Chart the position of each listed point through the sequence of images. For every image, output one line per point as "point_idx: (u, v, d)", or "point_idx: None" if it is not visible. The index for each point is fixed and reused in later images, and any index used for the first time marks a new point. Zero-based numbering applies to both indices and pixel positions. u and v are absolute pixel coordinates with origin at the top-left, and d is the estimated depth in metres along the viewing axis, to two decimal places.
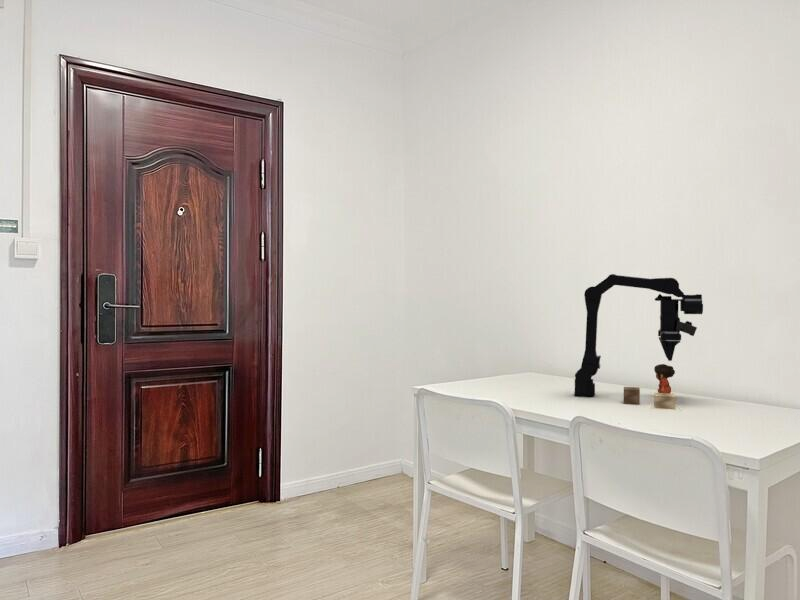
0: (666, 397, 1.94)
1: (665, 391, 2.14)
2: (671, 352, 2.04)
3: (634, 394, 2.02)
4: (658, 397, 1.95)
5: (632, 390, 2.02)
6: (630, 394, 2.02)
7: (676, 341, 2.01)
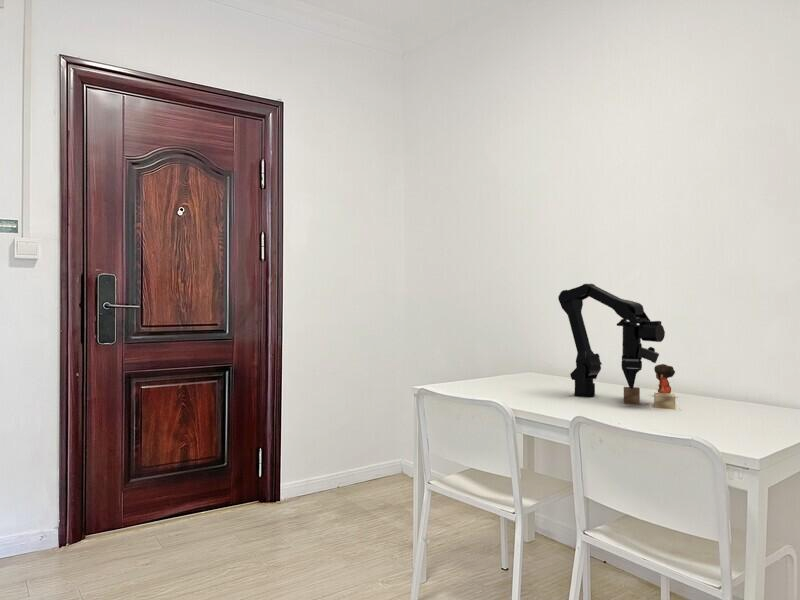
0: (666, 397, 1.94)
1: (665, 391, 2.14)
2: (632, 380, 1.99)
3: (634, 394, 2.02)
4: (658, 397, 1.95)
5: (632, 390, 2.02)
6: (630, 394, 2.02)
7: (637, 369, 1.96)
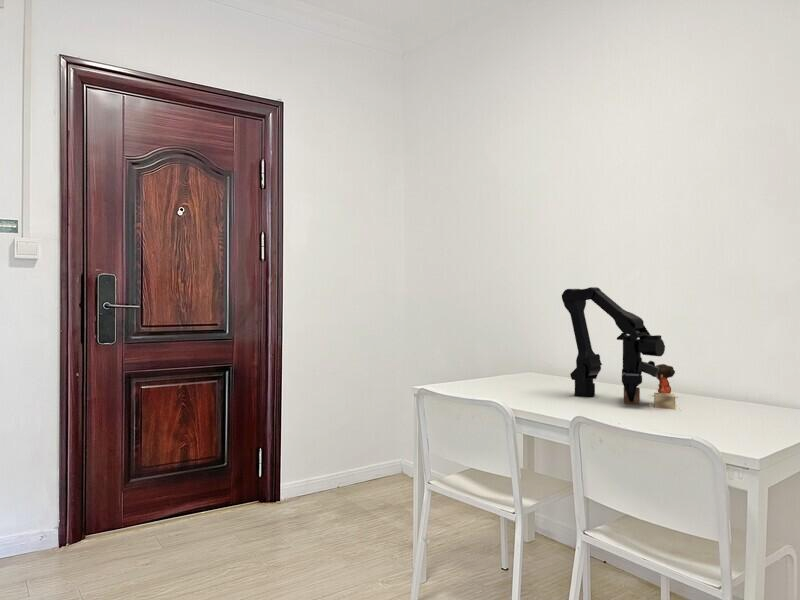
0: (666, 397, 1.94)
1: (665, 391, 2.14)
2: (632, 393, 2.01)
3: None
4: (658, 397, 1.95)
5: None
6: None
7: (637, 382, 1.98)
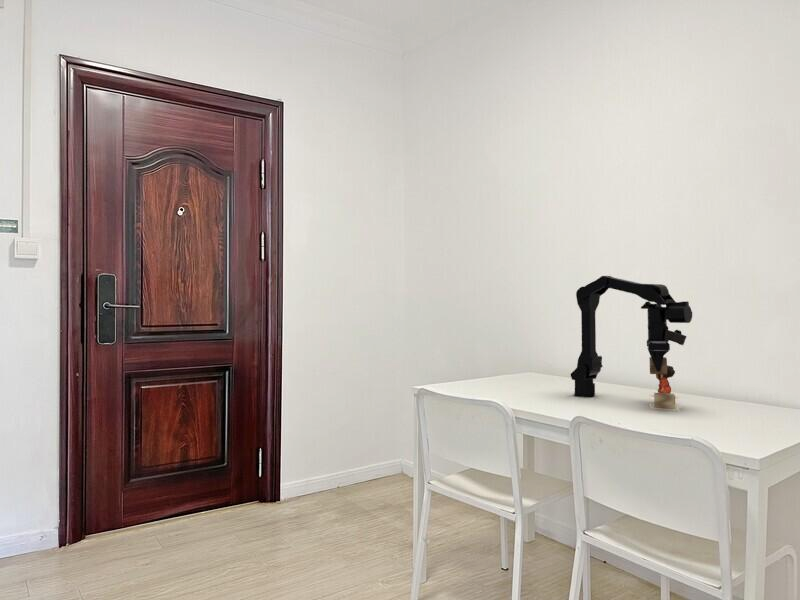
0: (666, 397, 1.94)
1: (665, 391, 2.14)
2: (659, 362, 1.95)
3: None
4: (658, 397, 1.95)
5: None
6: None
7: (664, 350, 1.92)
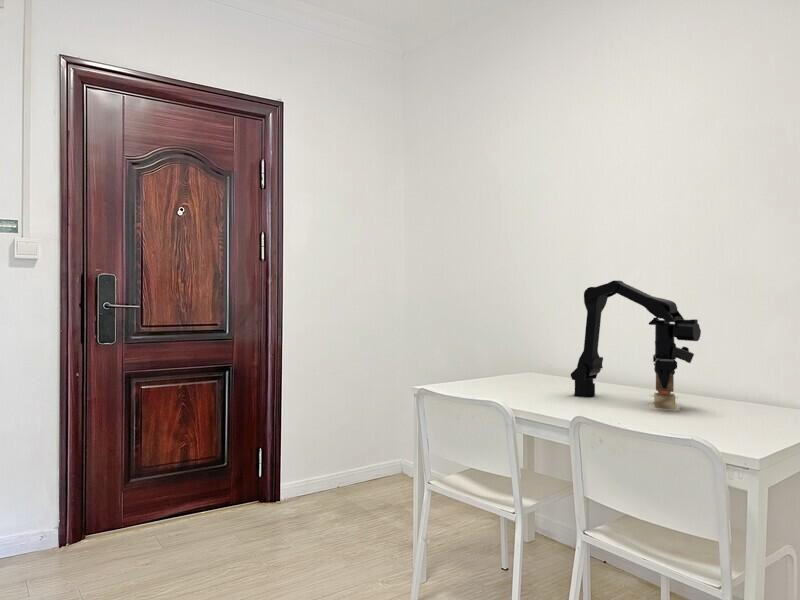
0: (666, 397, 1.94)
1: (665, 391, 2.14)
2: (666, 379, 1.94)
3: None
4: (658, 397, 1.95)
5: None
6: None
7: (671, 368, 1.91)
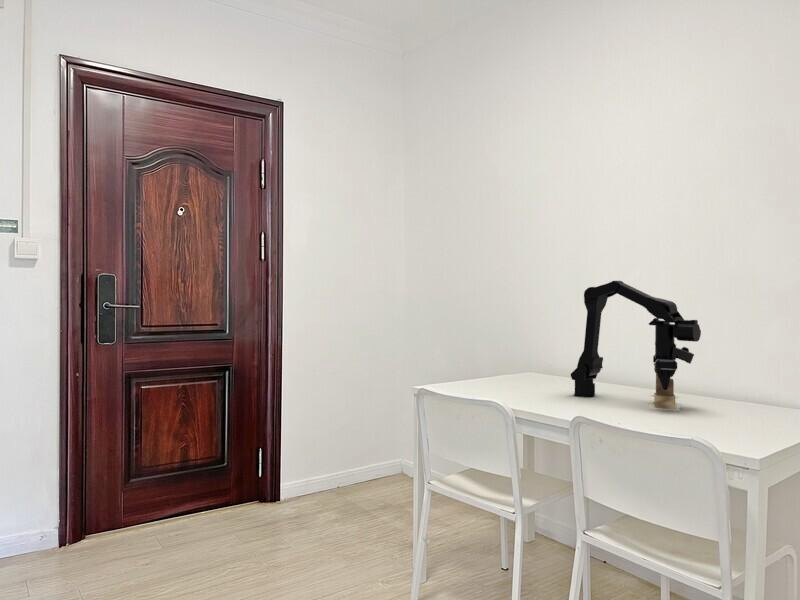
0: (666, 397, 1.94)
1: None
2: (667, 381, 1.92)
3: None
4: (658, 397, 1.95)
5: None
6: None
7: (672, 370, 1.89)
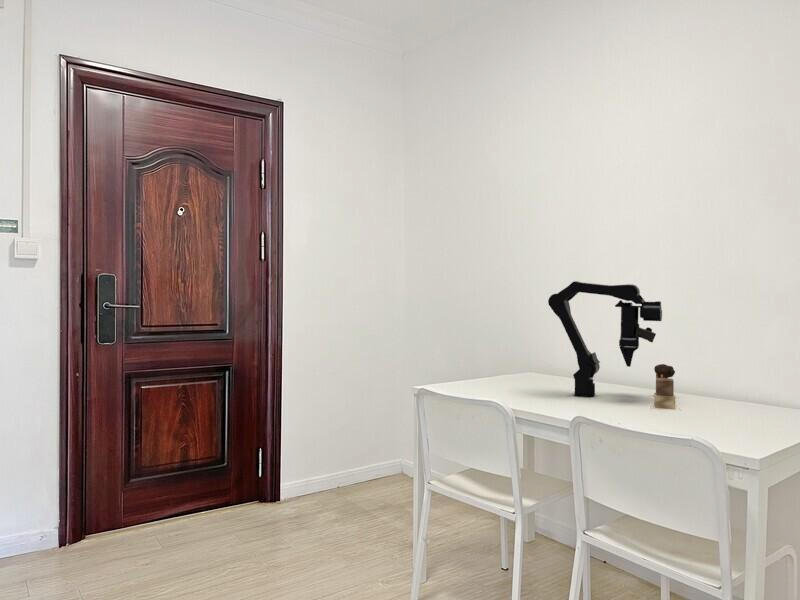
0: (666, 397, 1.94)
1: None
2: (630, 358, 2.06)
3: (667, 385, 1.95)
4: (658, 397, 1.95)
5: (665, 381, 1.95)
6: (663, 385, 1.95)
7: (634, 347, 2.04)
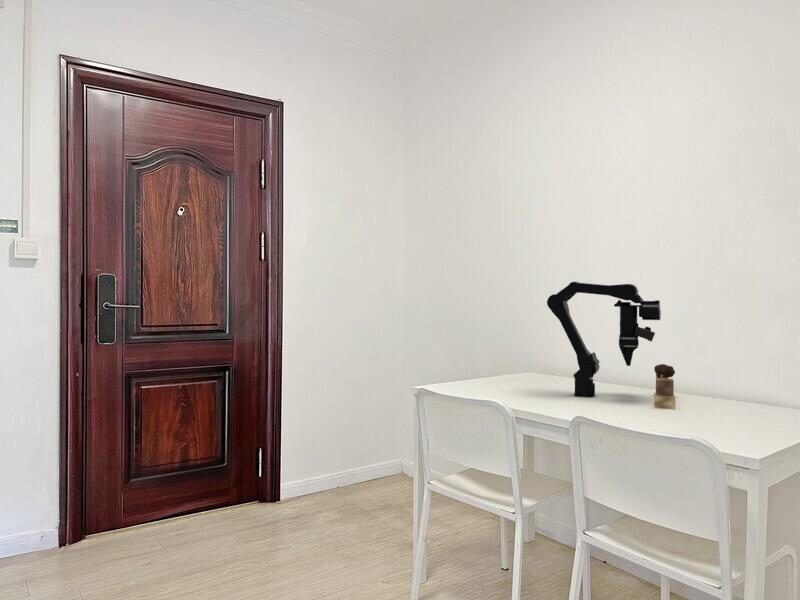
0: (666, 397, 1.94)
1: None
2: (629, 357, 2.07)
3: (667, 385, 1.95)
4: (658, 397, 1.95)
5: (665, 381, 1.95)
6: (663, 385, 1.95)
7: (634, 347, 2.04)
